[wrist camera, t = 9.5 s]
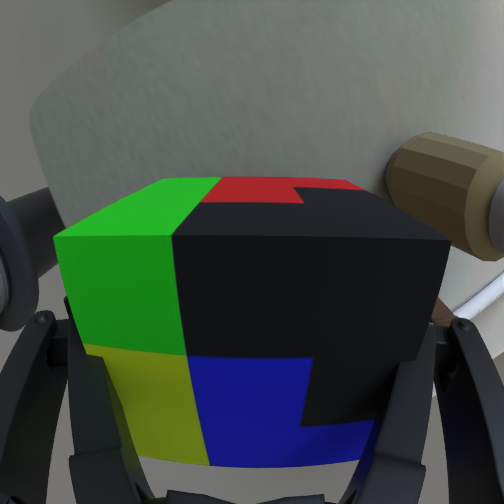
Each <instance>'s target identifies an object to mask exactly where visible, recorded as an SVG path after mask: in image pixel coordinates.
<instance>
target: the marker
mask: <svg viewBox="0 0 504 504" xmlns="http://www.w3.org/2000/svg"><path fill="white" fill-rule="evenodd" d="M503 293H504V272H503V273H502V274H501V275H500V276H499V277H498V278H496V279H495V280H494V281H493V282H492V283H491V284H489V285H488V286H487V287H486V288H484V289H483V290H482V291H481V292H479V293H478V294H477V295H476V296H474V297H473V298H472V299H471V300H469V301H468V302H467V303H465V304H464V305H463V306H461V307H460V308H459V309H457V310H456V311H454V312H453V314H454V315H455V316H458V317H460V318H466V319H468V320H471V319H472V318H474V317H475V316H476V315H478V314H479V313H480V312H481V311H483V310H484V309H485V308H486V307H488V306H489V305H490V304H491V303H492V302H494V301H495V300H496V299H497V298H499V297H500V296H501V295H502V294H503Z"/></svg>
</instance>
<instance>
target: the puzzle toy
mask: <svg viewBox="0 0 504 504" xmlns="http://www.w3.org/2000/svg"><path fill="white" fill-rule="evenodd" d="M53 239H54V244H55V249H56V254H57V258H58V263H59V267H60V271H61V275H62V279H63V283H64V287H65V290H66V294H67V297H68V301H69V304H70V307H71V311H72V314H73V317H74V320H75V323H76V326H77V329H78V332H79V335H80V338H81V340H82V343H83V346H84V348H85V351H86V354H89V355H95V356H100V357H103V359H104V362H105V365H106V367H107V370H108V372H109V375H110V378H111V380H112V383H113V385H114V388H115V390H116V392H117V395H118V397H119V399H120V402H121V404H122V406H123V410H124V413H125V417H126V420H127V424H128V427H129V431H130V434H131V437H132V440H133V443H134V446H135V449H136V452H137V455H140V456H145V457H150V458H155V459H161V460H167V461H174V462H181V463H188V464H197V465H207V466H208V465H209V466H221V467H241V468H242V467H243V468H281V467H301V466H314V465H324V464H333V463H340V462H347V461H354V460H360V458H361V455H362V453H363V450H364V448H365V445H366V443H367V440H368V437H369V435H370V432H371V429H372V426H373V424H374V421H375V418H376V415H377V412H378V410H379V408H380V406H381V404H382V401H383V399H384V397H385V395H386V393H387V390H388V388H389V386H390V383H391V381H392V379H393V376H394V374H395V372H396V369H397V367H398V364H399V363H401V362H409V361H415V360H416V357H417V355H418V352H419V350H420V347H421V345H422V342H423V339H424V337H425V334H426V331H427V328H428V325H429V322H430V320H431V317H432V313H433V310H434V307H435V304H436V301H437V297H438V294H439V290H440V287H441V283H442V280H443V276H444V272H445V268H446V264H447V260H448V255H449V251H450V246H451V241H452V240H451V239H449V238H448V237H446V236H445V235H443V234H441V233H440V232H438V231H437V230H435V229H433V228H432V227H430V226H428V225H427V224H425V223H423V222H422V221H420V220H418V219H417V218H415V217H413V216H412V215H410V214H408V213H406V212H405V211H403V210H401V209H399V208H398V207H396V206H394V205H392V204H390V203H388V202H387V201H385V200H383V199H381V198H379V197H377V196H376V195H374V194H372V193H370V192H368V191H366V190H364V189H362V188H360V187H358V186H356V185H354V184H352V183H350V182H348V181H346V180H336V179H317V178H292V177H195V178H169V179H162V180H160V181H158V182H155V183H153V184H151V185H149V186H147V187H145V188H143V189H141V190H139V191H136V192H134V193H132V194H130V195H128V196H126V197H124V198H122V199H120V200H118V201H116V202H114V203H112V204H111V205H109V206H107V207H105V208H103V209H101V210H99V211H97V212H95V213H93V214H92V215H90V216H88V217H86V218H84V219H83V220H81V221H79V222H77V223H75V224H74V225H72V226H70V227H68V228H67V229H65V230H63V231H62V232H60V233H58V234H56V235H55V236H53Z"/></svg>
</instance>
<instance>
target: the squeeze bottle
mask: <svg viewBox="0 0 504 504" xmlns="http://www.w3.org/2000/svg"><path fill="white" fill-rule="evenodd" d="M385 180H386V184H387V188H388V192H389V194H390V196H391V198H392V201H393V203H394V205H395V206H396V207H398V208H399V209H401V210H403V211H405V212H406V213H408V214H410V215H412V216H413V217H415V218H417V219H418V220H420V221H422V222H423V223H425V224H427V225H428V226H430V227H432V228H433V229H435V230H437V231H438V232H440V233H441V234H443V235H445V236H446V237H448V238H449V239H451V240H452V241H451V245H452V246H454V247H456V248H458V249H460V250H462V251H464V252H466V253H468V254H470V255H472V256H474V257H476V258H478V259H480V260H482V261H497V260H499V259H501V258H503V257H504V152H501V151H498V150H495V149H492V148H489V147H485V146H482V145H479V144H475V143H472V142H468V141H465V140H461V139H457V138H453V137H450V136H445V135H441V134H437V133H433V132H429V133H425V134H421V135H417V136H414V137H413V138H412V139H410V140H409V141H408V142H406V143H405V144H404V145H403V146H401V147H400V148H399V149H398V150H397V151H396V152H394V153H393V154H392V156H391V158H390V160H389V162H388V164H387V168H386V178H385Z"/></svg>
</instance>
